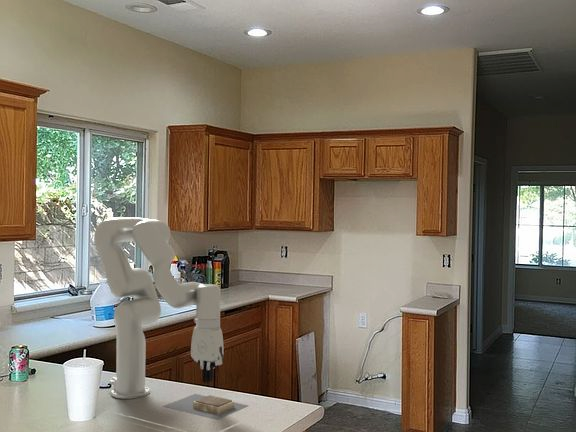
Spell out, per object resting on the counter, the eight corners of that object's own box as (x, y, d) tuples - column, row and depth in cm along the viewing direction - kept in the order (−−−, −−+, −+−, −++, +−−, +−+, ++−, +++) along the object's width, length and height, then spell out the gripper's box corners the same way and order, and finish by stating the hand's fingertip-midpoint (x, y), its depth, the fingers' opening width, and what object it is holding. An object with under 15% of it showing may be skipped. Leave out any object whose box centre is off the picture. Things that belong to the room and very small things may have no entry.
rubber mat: (162, 407, 199) (162, 406, 198) (195, 394, 212) (195, 393, 212) (217, 421, 187) (217, 419, 187) (248, 406, 201) (248, 405, 201)
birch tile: (193, 400, 197) (218, 406, 192) (209, 394, 204) (234, 400, 199) (193, 408, 197) (218, 414, 192) (209, 401, 204) (234, 407, 199)
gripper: (182, 323, 200) (181, 380, 200) (219, 328, 192) (219, 388, 192) (197, 319, 206) (196, 375, 206) (234, 324, 198) (233, 382, 199)
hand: (207, 381), depth 199 cm, fingers closed
